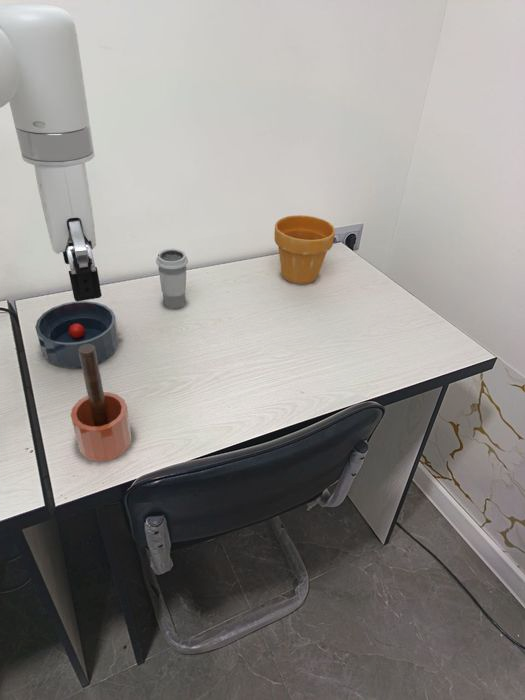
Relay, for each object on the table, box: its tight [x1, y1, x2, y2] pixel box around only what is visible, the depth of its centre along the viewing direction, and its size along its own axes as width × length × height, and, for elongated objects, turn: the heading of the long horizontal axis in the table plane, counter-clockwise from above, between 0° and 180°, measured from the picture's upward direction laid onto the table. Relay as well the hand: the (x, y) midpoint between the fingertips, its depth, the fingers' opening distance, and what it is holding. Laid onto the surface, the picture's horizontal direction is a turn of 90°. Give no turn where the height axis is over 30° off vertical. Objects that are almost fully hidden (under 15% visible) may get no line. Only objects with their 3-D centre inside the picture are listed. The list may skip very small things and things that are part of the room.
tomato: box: [69, 323, 85, 339], centre depth 97 cm, size 3×3×3 cm
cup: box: [155, 248, 189, 310], centre depth 107 cm, size 7×7×12 cm
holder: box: [70, 391, 132, 462], centre depth 76 cm, size 8×8×7 cm
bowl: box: [34, 300, 120, 369], centre depth 95 cm, size 14×14×6 cm
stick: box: [78, 344, 109, 426], centre depth 73 cm, size 2×2×18 cm
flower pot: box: [273, 214, 336, 285], centre depth 120 cm, size 14×14×13 cm
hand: (82, 279), depth 64 cm, fingers open, 9 cm apart
